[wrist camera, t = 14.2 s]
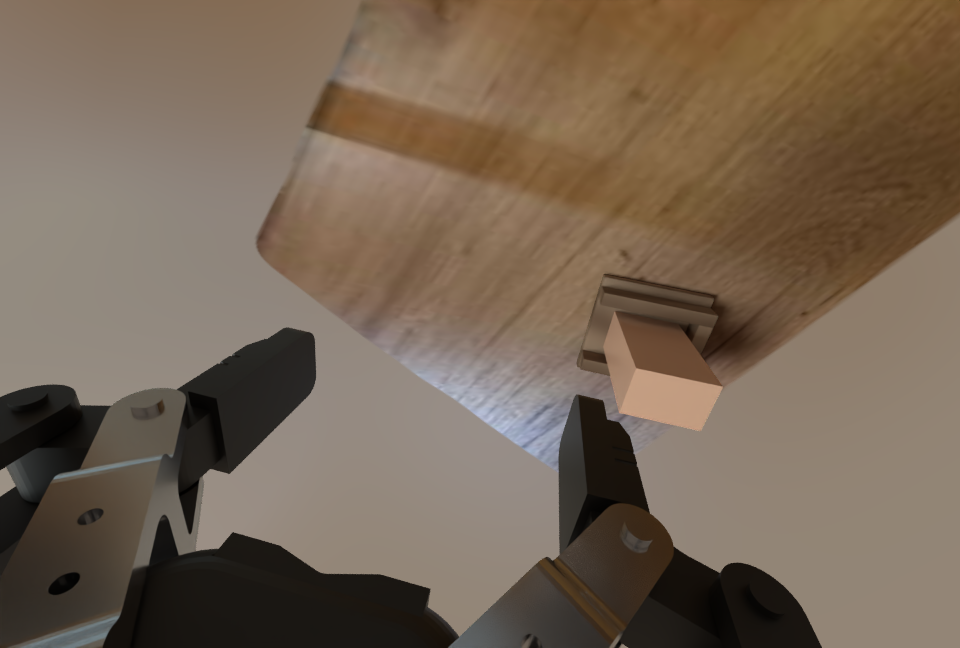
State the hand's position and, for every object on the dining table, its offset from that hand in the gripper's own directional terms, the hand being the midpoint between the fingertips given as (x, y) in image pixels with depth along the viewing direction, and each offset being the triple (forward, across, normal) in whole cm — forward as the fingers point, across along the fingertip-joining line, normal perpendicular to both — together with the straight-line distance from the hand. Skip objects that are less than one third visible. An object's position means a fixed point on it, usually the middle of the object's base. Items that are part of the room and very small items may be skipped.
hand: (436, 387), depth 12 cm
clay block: (+27, -14, +8) cm, 32 cm away
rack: (+28, -14, +8) cm, 32 cm away
